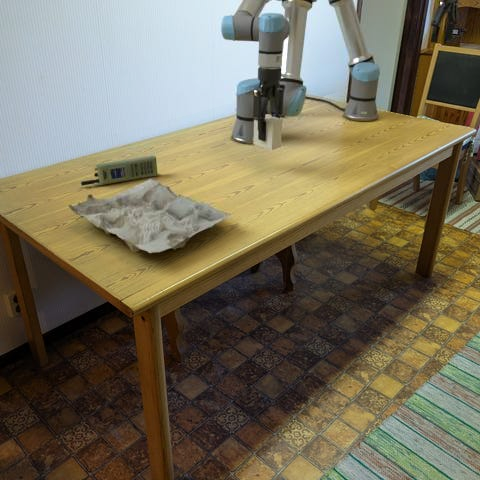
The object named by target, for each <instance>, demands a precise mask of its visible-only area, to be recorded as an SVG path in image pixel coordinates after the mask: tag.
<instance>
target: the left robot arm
mask: <svg viewBox="0 0 480 480" xmlns="http://www.w3.org/2000/svg"><path fill="white" fill-rule="evenodd" d="M270 1H271V0H242V1H241V3H240V5H239V6H238V7H237V10H236V11H235V13H234V15H232V14H230V15H224V16H223V17H222V20H221V23H220V24H221V25H220V30H221V31H220V32H221V36H222V38H223V39H224V40H226V41H233V42H237V41H238V42H254V43H255V42H256V43H258V53H257V55H258V57H257V66H259V67H258V68H257V77H256V78H249V79H243V80H241V81H239V82H238V83H237V85H236V93H235V96H236V119H235V123H234V125H233V129H232V133H231V140H233V141H234V142H236V143H240V144H246V145H247V144H248V145H254V144H253V142H254V120H257V121H258V140H262V141H266V121H265V115H269V116H273V117H276V118H280V119H281V118H282V117H281V116H285V117H298V116H299V115H300V114H301V113H302V111H303V108H304V105H305V102H306V98H305V97H306V96H307V86H305V85H304V80H303V79H302V77H301V70H302V63H303V62H302V61H303V56H304V55H303V53H304V47H305V46H304V45H305V38H306V37H305V36H306V29H307V28H306V27H307V19H308V13H309V11H310V10H311V9H312V8H313V4H314V3H317V1H318V0H277V1H279V2H281V6H282V8H283V9H284V13H283V14H282V13H278V12H266V13H262V11H263V10H264V8H265V6H266V5H267V4H268V3H269V2H270ZM280 115H281V116H280ZM261 117H262V118H261Z"/></svg>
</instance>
